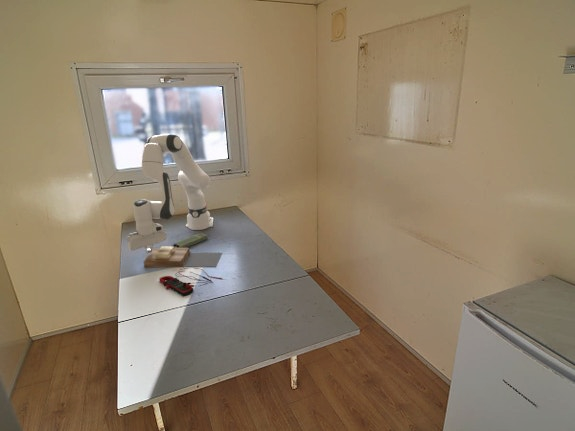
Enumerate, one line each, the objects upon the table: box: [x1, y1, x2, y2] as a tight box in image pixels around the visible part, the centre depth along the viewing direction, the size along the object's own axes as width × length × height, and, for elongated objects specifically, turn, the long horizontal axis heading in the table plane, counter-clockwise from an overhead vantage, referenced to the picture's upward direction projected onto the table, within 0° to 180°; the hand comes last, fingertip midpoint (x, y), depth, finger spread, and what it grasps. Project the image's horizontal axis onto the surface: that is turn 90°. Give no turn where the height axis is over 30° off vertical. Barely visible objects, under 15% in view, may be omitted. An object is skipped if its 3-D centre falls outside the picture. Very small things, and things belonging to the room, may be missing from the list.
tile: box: [155, 245, 175, 259], centre depth 190 cm, size 10×7×2 cm
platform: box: [143, 247, 191, 268], centre depth 191 cm, size 16×20×4 cm
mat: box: [181, 252, 222, 268], centre depth 191 cm, size 16×18×1 cm
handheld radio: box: [172, 232, 209, 248], centre depth 209 cm, size 7×3×25 cm
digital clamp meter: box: [158, 267, 226, 298], centre depth 170 cm, size 23×4×25 cm
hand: (149, 252), depth 190 cm, fingers closed
